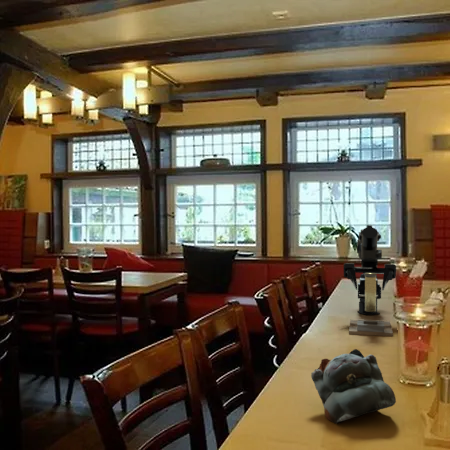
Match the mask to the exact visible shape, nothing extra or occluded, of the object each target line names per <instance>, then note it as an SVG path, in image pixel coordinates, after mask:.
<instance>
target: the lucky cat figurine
mask: <svg viewBox="0 0 450 450" xmlns="http://www.w3.org/2000/svg"><path fill="white" fill-rule="evenodd" d="M310 376H311V380H312V382H313V384H314V387H315V389H316V390H317V394H318V396H319V398H320V400H321V402H322V405H323V410H324V416H325V418H326V419H327V420H329V421H330V422H332V423H334V424H336V425H337V424H339V423H341V422H344V421H346V420H349V419H352V418H357V417H359V416H362V415H365V414H368V413H373V412H376V411H380V410H383V409H387V408H390V407H393V406H394V405H395V404H396V403H397V401H396V395H395V391H394V390H393V388H392V387H391V386H390V385H389V384H388V383H387V382H385V381H384V377H383V373H382V370H381V369H380V367H379V365H378V360H377V357H376V356H375V355H373V354H368V355H366V356H364V355H363V353H362V352H361V351H360V350H359V349H356V348H354V349H352V350H351V351H350V352H349V353H342V354H340V355H336V356H335V357H333V358H332V359H329V358H322V359H321V361H320V364H319V367H317V368H316V369H314V370H313V371H312V372H311V375H310Z"/></svg>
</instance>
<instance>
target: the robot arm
mask: <svg viewBox="0 0 450 450" xmlns="http://www.w3.org/2000/svg"><path fill="white" fill-rule="evenodd" d="M380 239H382V235H381V234H380V232H379V231H378V229H376V228H375V227H373V225H372V224H370V225H369V224H367V225H366V227H365V228H363V229H360V231H359V232H358V239H357V241H356V243H357V244H356V247H357V248H356V253H357V254H358V258H359V259H360V260H361V263H360V264H361V266H355V263H351V262H350V263H348V262H346V263H343V277H344V278H346V279H348V280H350V281H351V283H352V285H353V286H354V288H355V290H357V299H359V302H358V311H357V314H358V313H359V314H361V315H366V316H368V315H371V316H372V315H380V314H381V312H380V311H379V312H378V300H380V299H382V291H384V290H385V288H386V286H387V284H388V282H389V281H392V280H394V279H396V276H397V265H396V264H395V263H385V264H384V267H378V261H379V260H382V259H383V258H382V255H383V251H382V249H378V242H379V241H380ZM356 273H358V274H360V273H361V274H360V275H359V276H360V277H359V282H357V281H358V280H357V274H356ZM365 273H376V311H375V312H368V311H365ZM377 274H379V275H382V274H383V279H382V285H380V283H379V281H378V280H379V279H378V275H377Z"/></svg>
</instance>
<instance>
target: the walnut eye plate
mask: <svg viewBox="0 0 450 450" xmlns="http://www.w3.org/2000/svg"><path fill="white" fill-rule="evenodd" d="M348 334H349V335H361V336H362V335H363V336H378V337H379V336H380V337H381V336H384V337H394V332H393V328H392V323H391V321H390V320H376V319H375V320H373V319H350V320H349V327H348Z"/></svg>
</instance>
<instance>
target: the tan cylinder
mask: <svg viewBox="0 0 450 450" xmlns="http://www.w3.org/2000/svg"><path fill="white" fill-rule="evenodd" d="M376 275H377V274H376V273H365V311H368V312H375V311H376V296H377V295H376Z"/></svg>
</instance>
